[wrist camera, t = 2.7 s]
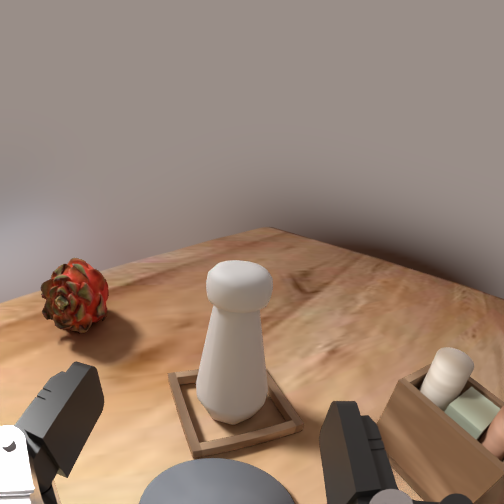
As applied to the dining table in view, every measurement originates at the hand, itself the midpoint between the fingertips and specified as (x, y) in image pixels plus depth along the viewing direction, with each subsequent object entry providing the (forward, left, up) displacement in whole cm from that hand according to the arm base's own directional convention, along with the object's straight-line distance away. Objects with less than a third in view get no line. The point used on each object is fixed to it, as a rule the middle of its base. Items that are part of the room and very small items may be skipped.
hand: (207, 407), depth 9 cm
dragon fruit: (+9, -27, -13) cm, 31 cm away
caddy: (-17, +3, -12) cm, 21 cm away
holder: (-5, -10, -12) cm, 17 cm away
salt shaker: (-5, -10, -13) cm, 17 cm away
